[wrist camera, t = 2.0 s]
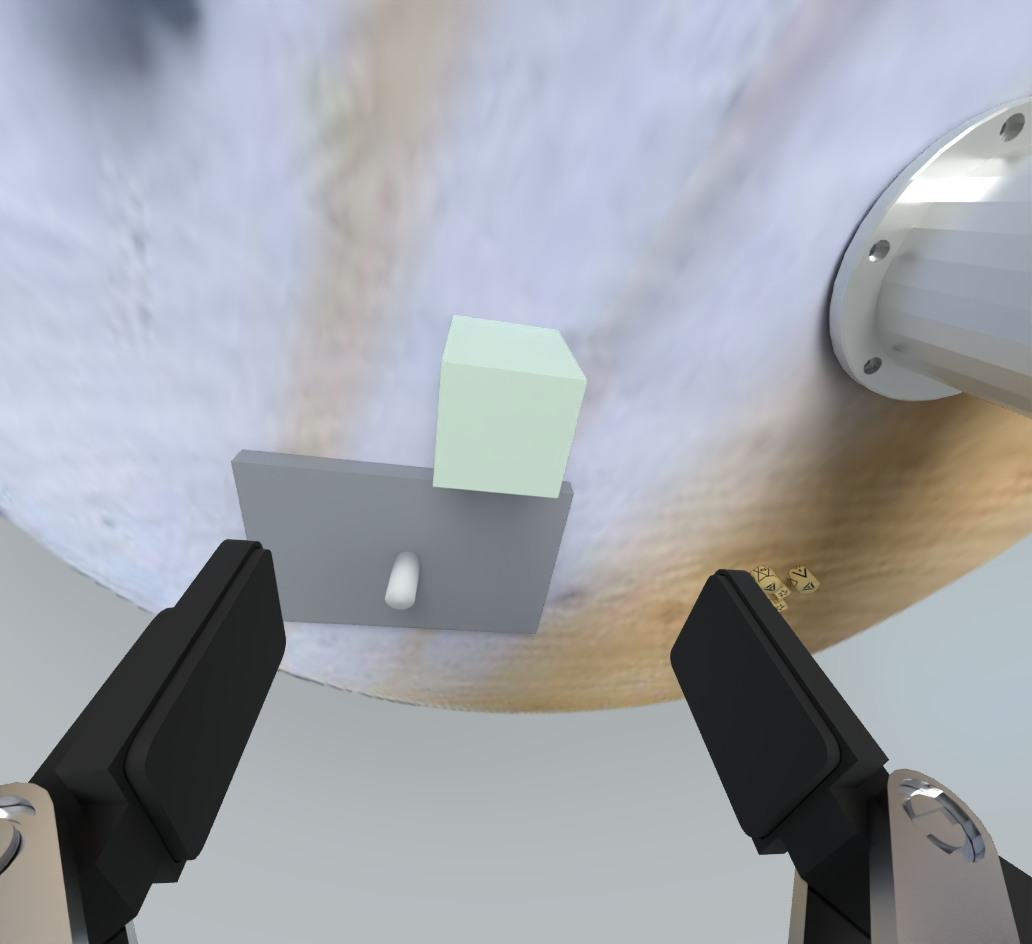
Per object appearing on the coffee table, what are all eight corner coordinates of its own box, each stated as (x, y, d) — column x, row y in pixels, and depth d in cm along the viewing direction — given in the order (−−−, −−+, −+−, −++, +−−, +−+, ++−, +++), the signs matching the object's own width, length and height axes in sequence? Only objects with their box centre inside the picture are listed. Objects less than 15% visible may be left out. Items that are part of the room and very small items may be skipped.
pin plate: (570, 482, 26) (583, 527, 22) (534, 620, 32) (540, 672, 28) (242, 449, 23) (198, 494, 20) (271, 605, 30) (242, 661, 26)
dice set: (713, 602, 33) (725, 623, 32) (746, 551, 31) (761, 571, 29) (771, 609, 34) (786, 630, 32) (808, 561, 32) (826, 581, 30)
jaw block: (558, 329, 21) (587, 380, 15) (539, 423, 24) (558, 498, 18) (453, 314, 21) (441, 361, 15) (445, 412, 23) (432, 486, 17)
